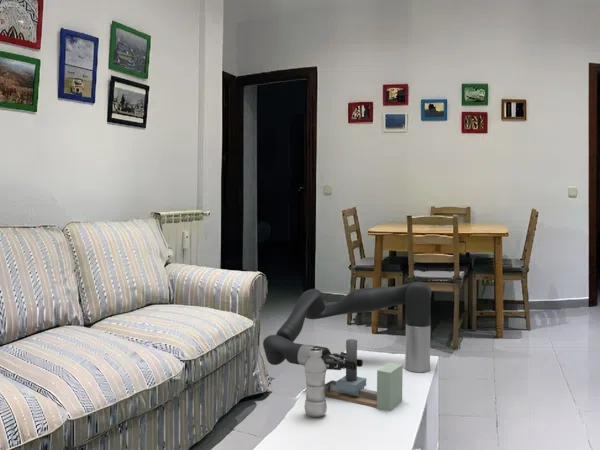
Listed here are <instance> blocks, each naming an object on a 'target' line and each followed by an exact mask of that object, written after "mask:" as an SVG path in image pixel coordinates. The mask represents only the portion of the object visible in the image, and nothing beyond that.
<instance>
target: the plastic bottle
mask: <svg viewBox="0 0 600 450" xmlns="http://www.w3.org/2000/svg"><path fill="white" fill-rule="evenodd" d="M309 356H310V358H309V359H308V361H307V362H306V364H305V366H304V373H305V375H304V376H305V383H306V387H305V388H306V393H305V399H304V400H305V401H304V411H305V414H306V415H307V416H309V417H313V418H318V417H323V416H325V415H326V413H327V409H328V408H327V405H328V404H327V400H326V396H325V389H324V388H325V386H324V385H325V384H326V381H325V380H326V375H327V369H326V364H325V363H324V361H323V359H322V358H321V356H322V349H319V348H312V349H310V350H309Z"/></svg>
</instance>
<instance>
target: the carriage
mask: <svg viewBox="0 0 600 450" xmlns="http://www.w3.org/2000/svg"><path fill="white" fill-rule="evenodd" d="M345 342H346V343H345V353H346V361H348V362H354V363H357V359H358V340H356V339H352V338H351V339H350V338H349V339H346V341H345ZM335 381H336V389H338V391H339V392H343V393H348V394H353V395H359V390H360V389H362V388H363V389H365V387H366V386H367V378H366V377H361V376H358V368H357V369H356V370H352V369H345V375H344V376H342V377H341V378H339V379H338V380H335Z"/></svg>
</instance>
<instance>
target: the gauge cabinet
mask: <svg viewBox="0 0 600 450" xmlns="http://www.w3.org/2000/svg"><path fill="white" fill-rule="evenodd" d="M403 368H404V366H403V364H401V363H396V362H391V361H390V362H388V363H386V364H385V365H383V366H382V367H380V368H379V369H378V370H377V371H376V391H377V408H376V409H378V410H383V411H386V412H391V411H392V410H393V409H394V408H396V407H397V406H399V405H400V404H401V403H402V402H403V379H404V378H403V377H404V376H403V373H404V372H403V371H404V370H403Z"/></svg>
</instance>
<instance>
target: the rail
mask: <svg viewBox="0 0 600 450" xmlns="http://www.w3.org/2000/svg"><path fill="white" fill-rule="evenodd" d="M336 381H337V380H330V381H328V382H325V385H324V386H325V388H324V389H325V398H331V399H336V400H340V401H343V402H344V401H345V402H349V403H353V404H359V405H363V406H366V407H367V406H368V407H372V408H376V409H377V390H373V389H367V388H364V389H363V388H362V389H360V390H359V395H353V394H348V393H343V392H339V391H338V389H336Z"/></svg>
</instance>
